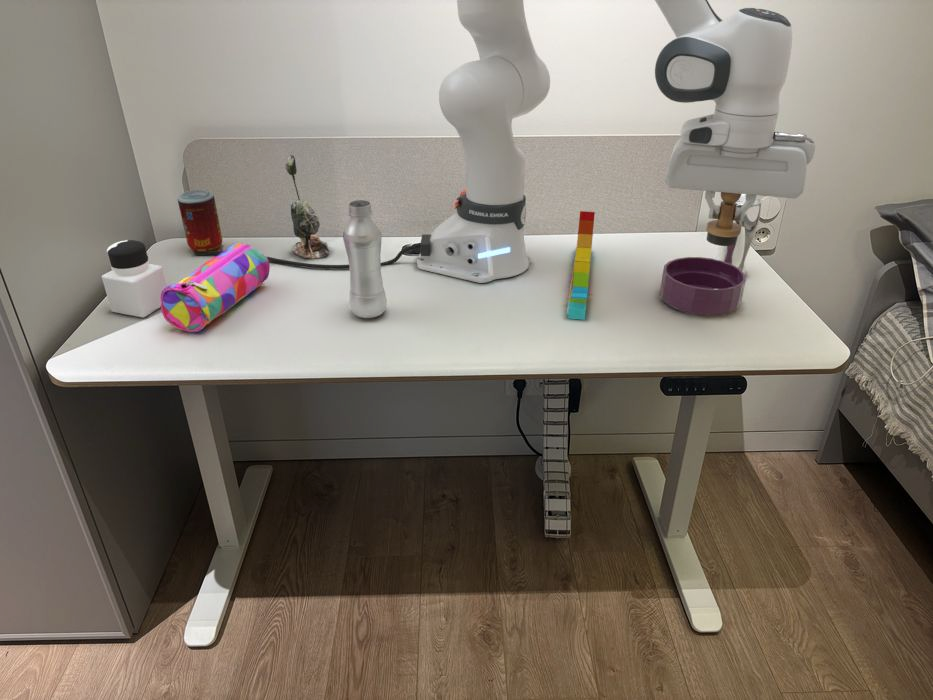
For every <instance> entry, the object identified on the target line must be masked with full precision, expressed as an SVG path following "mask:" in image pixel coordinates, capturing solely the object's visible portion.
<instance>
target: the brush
mask: <svg viewBox="0 0 933 700" xmlns="http://www.w3.org/2000/svg"><path fill="white" fill-rule="evenodd" d="M740 197H741V194H736V193H725V192H720V199H721V200H722V201H721V202H720V205H719V206H720V212H719V217H718V219H713V220H710V221H708V222H707V224H706V229H705V230H706V232H707V234H706V241H707V242H708V243H710V244H712V245H714V246H718V245H719V246H731V245H734V244H736V241H737V236H738V235H740V232H741V226H740V225H739V224H737V223H734V222H733V220H734V216H735V210H736V206H737V203H735V202H737V201H738V200H739V199H740Z"/></svg>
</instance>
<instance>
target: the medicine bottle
mask: <svg viewBox="0 0 933 700" xmlns="http://www.w3.org/2000/svg"><path fill="white" fill-rule="evenodd" d="M106 255H107V258H108V261H109V265H110V269H111V270H110V271H108V272H106V273H104V274H102V275H101V280H102V283H103V286H104V290H105V291H104V292H105V294H106V297H107V301H108V304H109V307H110V310H111V312H112V313H115V314H121V315H127V316H130V317H137V318H141V319H144V318H146V317H147V316H149V315H151V314H152V313H154V312H155V311H157V310H159V309H161V293H162V291H163V290H164V289H165V288H166V287H167V286H168V285H167V282H166V276H165V274H164V269H163V266H162V265H159V264H154V263H150V259H149V255H148V252H147V248H146V244H145V243H143V242H142V241H140V240H135V239H125V240H121V241H117V242H114V243H113V244H111V245H109V246H108V247H107V249H106Z"/></svg>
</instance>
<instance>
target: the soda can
mask: <svg viewBox="0 0 933 700" xmlns="http://www.w3.org/2000/svg"><path fill="white" fill-rule="evenodd" d="M214 195H215V194H213V193H212V192H210V191H209V190H208V189H207V190H206V189H191V190H187V191H185V192H182V193H181V194H180V195H179V196H178V197H177V203H178V208H179V212H180V218H181V222H182V226H183V230H184V234H185V239H186V243H187V246H188V248H190V250H191V251H192V253H193V254H194V255H198V256H208V255H209V254H195V251H221V249H222V248H221V247H222V244H223V234H222V231H221V225H220V220H219V215H218V209H217V205H216V199H215V196H214Z"/></svg>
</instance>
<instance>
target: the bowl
mask: <svg viewBox="0 0 933 700" xmlns="http://www.w3.org/2000/svg"><path fill="white" fill-rule="evenodd" d="M746 282H747V275H746V274H744V273H743V271H742V270H740V269H739V268H737V267H736V266H734V265H732V264H729V263H726V262H724V261H720V260H716V259H715V258H710V257H702V256H686V257H685V256H684V257H678V258H674V259H672V260H669V261H668V262H666V263H665V264H664V265H663V270H662V276H661V281H660V290H659V296H660V298H661V300H662V301H663V302H664V303H665V304H667V305H669V307H672V308H674V309H676V310H678V311H679V312H683V313H686V314H690V315H696V316H702V317H705V316H706V317H712V316H723V315H727V314H731V313H733V312H735V311H737V310H738V309H739V307H740V306H741V303H742V300H743V295H744V290H745V287H746Z"/></svg>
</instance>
